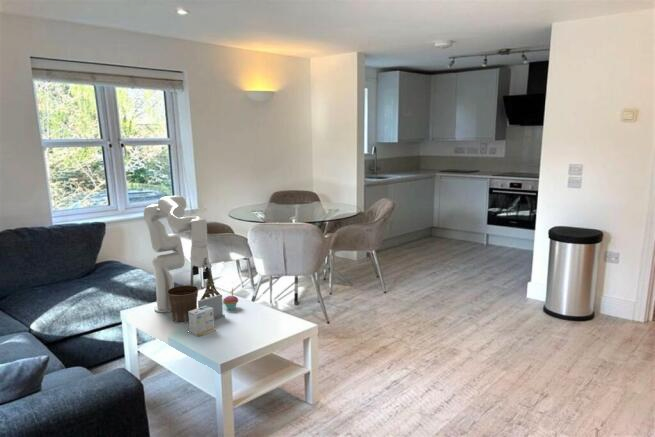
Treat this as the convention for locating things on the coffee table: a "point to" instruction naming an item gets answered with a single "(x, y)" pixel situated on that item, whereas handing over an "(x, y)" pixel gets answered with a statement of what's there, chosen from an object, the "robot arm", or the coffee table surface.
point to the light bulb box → (201, 319)
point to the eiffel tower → (208, 290)
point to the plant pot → (182, 301)
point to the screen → (213, 305)
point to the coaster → (204, 332)
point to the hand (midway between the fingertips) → (200, 276)
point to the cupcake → (230, 301)
